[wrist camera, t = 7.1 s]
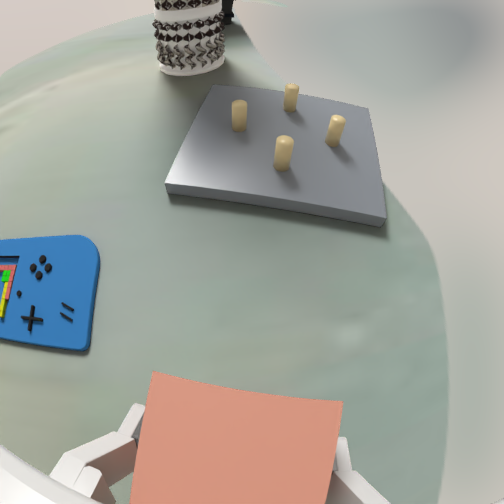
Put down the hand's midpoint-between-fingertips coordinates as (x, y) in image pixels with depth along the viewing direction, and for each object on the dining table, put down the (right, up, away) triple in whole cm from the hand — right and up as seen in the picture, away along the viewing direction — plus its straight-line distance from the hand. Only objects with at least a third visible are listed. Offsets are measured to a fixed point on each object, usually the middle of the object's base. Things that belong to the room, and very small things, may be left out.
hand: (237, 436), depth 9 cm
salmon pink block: (0, -3, +5) cm, 6 cm away
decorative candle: (-7, +31, +23) cm, 39 cm away
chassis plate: (+3, +16, +15) cm, 22 cm away
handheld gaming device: (-17, +4, +9) cm, 20 cm away
